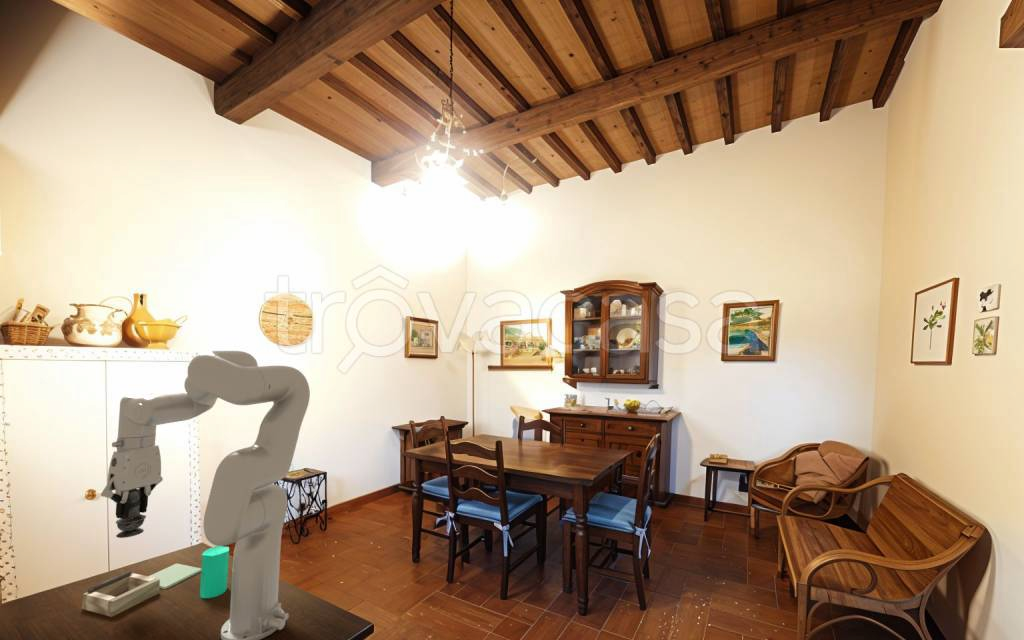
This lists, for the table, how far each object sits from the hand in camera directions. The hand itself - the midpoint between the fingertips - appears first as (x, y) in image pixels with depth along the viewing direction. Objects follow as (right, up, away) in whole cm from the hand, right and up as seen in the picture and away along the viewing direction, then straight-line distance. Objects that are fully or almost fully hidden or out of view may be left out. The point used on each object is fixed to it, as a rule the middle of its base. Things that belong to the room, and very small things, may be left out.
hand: (131, 514), depth 110 cm
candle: (+19, -22, +2) cm, 29 cm away
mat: (+3, -22, +9) cm, 24 cm away
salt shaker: (0, -5, 0) cm, 5 cm away
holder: (-1, -21, -2) cm, 21 cm away
